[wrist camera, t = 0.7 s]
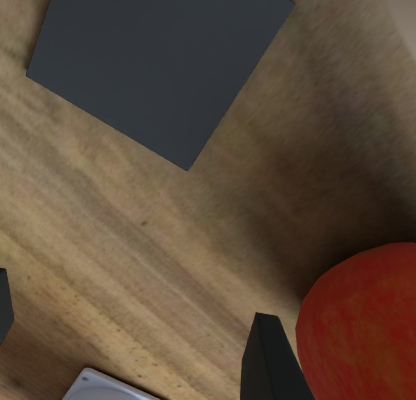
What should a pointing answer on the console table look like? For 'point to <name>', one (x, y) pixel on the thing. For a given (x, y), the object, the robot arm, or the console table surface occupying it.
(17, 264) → the console table surface
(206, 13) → the mat
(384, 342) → the apple
